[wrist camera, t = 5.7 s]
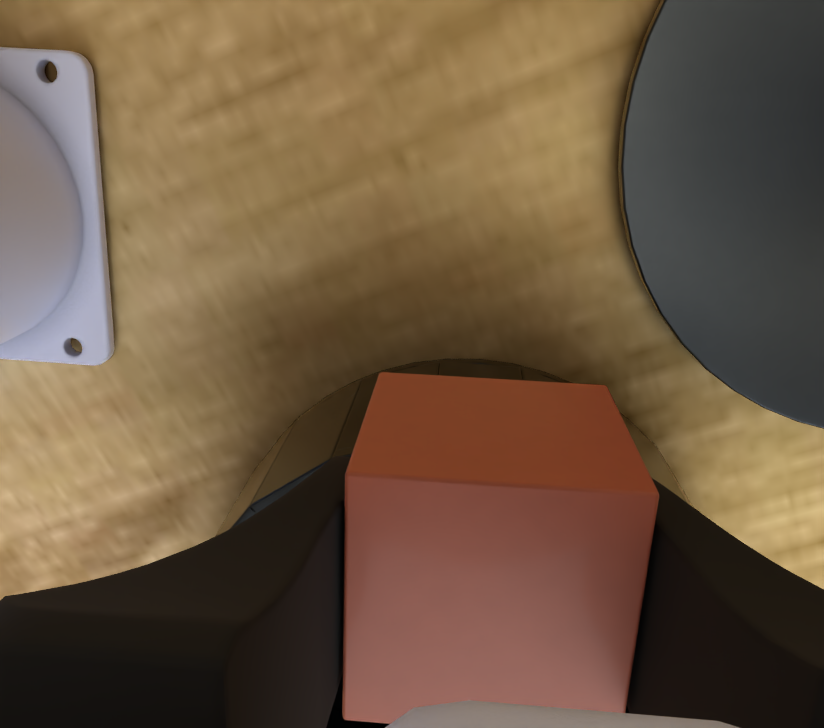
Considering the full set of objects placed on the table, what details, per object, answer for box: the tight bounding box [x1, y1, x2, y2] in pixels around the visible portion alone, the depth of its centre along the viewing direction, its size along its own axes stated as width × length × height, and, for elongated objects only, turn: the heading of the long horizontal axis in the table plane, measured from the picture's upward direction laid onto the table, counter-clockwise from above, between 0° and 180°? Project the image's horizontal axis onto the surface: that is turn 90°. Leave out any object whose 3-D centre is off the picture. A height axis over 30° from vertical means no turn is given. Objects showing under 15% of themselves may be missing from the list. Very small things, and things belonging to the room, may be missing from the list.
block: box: [342, 372, 659, 724], centre depth 12 cm, size 4×4×4 cm
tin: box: [216, 359, 693, 728], centre depth 20 cm, size 14×14×5 cm
